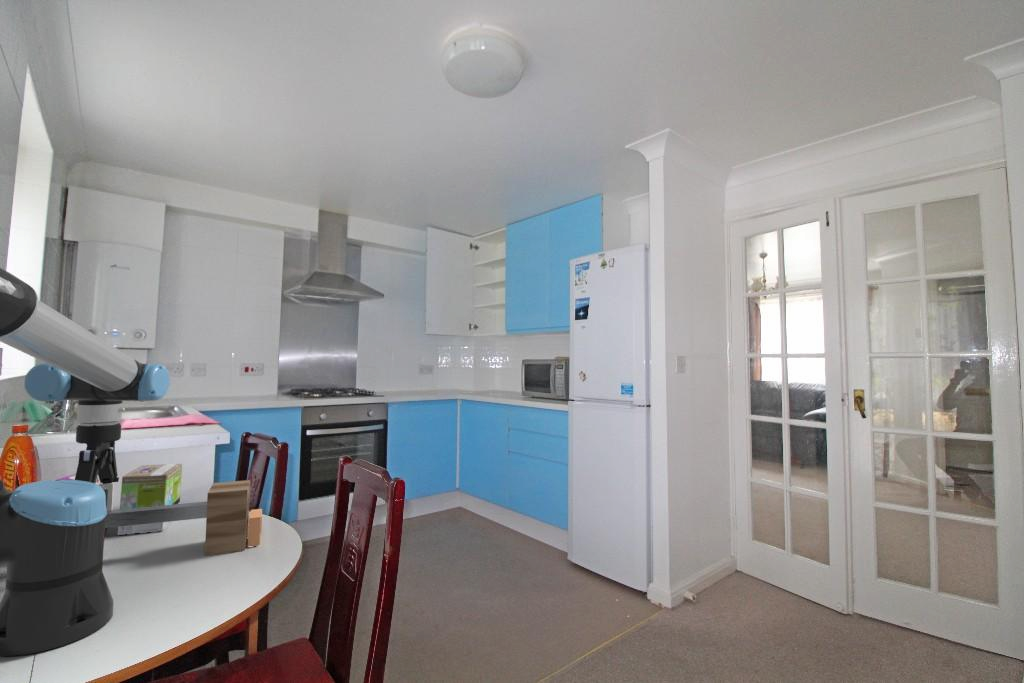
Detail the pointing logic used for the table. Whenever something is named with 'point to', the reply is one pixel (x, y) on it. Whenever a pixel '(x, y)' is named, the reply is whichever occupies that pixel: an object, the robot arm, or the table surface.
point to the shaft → (154, 514)
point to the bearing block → (227, 517)
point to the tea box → (150, 492)
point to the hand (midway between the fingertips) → (94, 521)
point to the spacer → (255, 527)
